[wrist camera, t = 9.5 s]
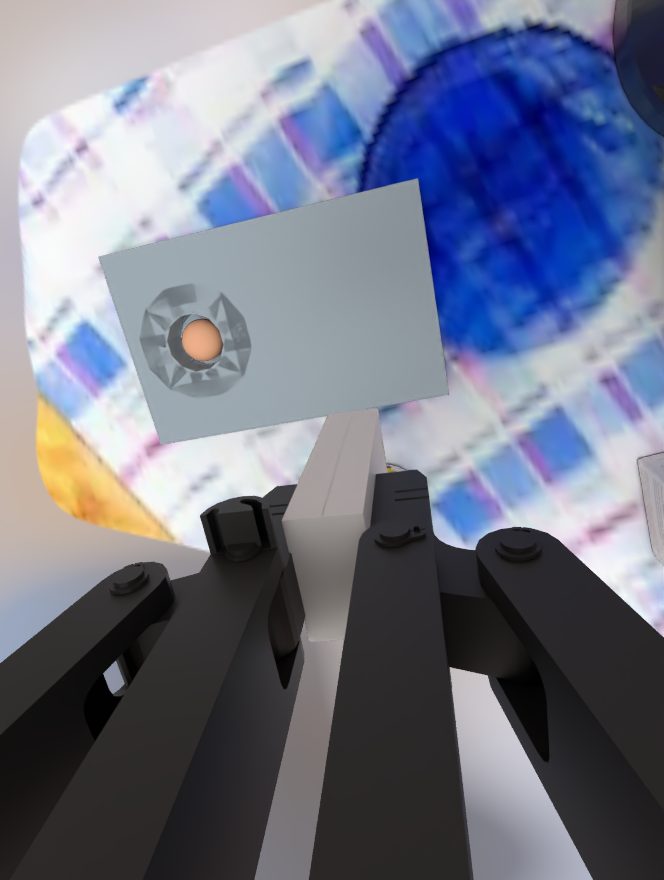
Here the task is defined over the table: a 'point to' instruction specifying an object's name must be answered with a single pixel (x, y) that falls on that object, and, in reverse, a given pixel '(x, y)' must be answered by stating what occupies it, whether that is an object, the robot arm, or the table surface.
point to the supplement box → (654, 499)
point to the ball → (202, 340)
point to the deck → (285, 315)
